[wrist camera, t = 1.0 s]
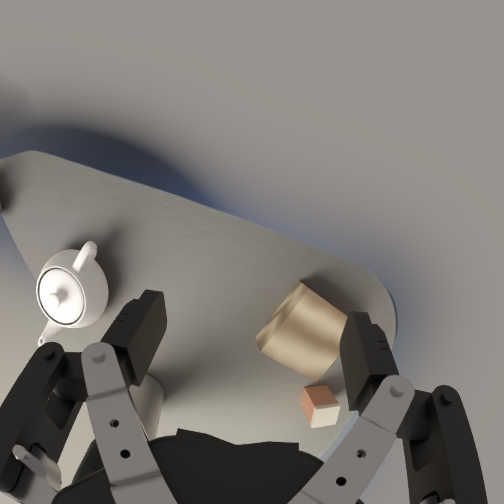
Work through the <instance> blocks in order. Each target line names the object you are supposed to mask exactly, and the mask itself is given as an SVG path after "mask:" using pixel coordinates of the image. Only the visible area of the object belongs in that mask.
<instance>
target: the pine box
mask: <svg viewBox="0 0 504 504" xmlns="http://www.w3.org/2000/svg"><path fill="white" fill-rule="evenodd" d="M347 317H348V316H347V315H346V314H344V313H343V312H341V311H340V310H339V309H337V308H336V307H335V306H333V305H332V304H330V303H329V302H328V301H326V300H325V299H324V298H322V297H321V296H319V295H318V294H317V293H315V292H314V291H313V290H311V289H310V288H308V287H307V286H306V285H304V284H303V283H302V282H300V281H298V282H297V284H296V285H295V286H294V288H293V289H292V290H291V292H290V293H289V294H288V296H287V297H286V298H285V300H284V301H283V302H282V304H281V305H280V306H279V308H278V309H277V310H276V312H275V313H274V314H273V315H272V317H271V318H270V319H269V321H268V322H267V323H266V324H265V326H264V327H263V328H262V330H261V331H260V332H259V333H258V335H257V336H256V337H255V338H256V340H257V343H258V346H259V349H260V351H261V352H262V353H264V354H266V355H267V356H269V357H271V358H273V359H275V360H276V361H278V362H280V363H282V364H283V365H285V366H287V367H289V368H291V369H293V370H294V371H296V372H298V373H300V374H302V375H304V376H306V377H307V378H309V379H311V380H313V381H315V382H317V381H318V380H319V378H320V377H321V376H322V375H323V374H324V373H325V371H326V370H327V369H328V368H329V367H330V366H331V364H332V363H333V362H334V361H335V360H336V358H337V357H338V356H339V355H340V350H339V345H340V338H341V335H342V332H343V329H344V326H345V323H346V320H347Z"/></svg>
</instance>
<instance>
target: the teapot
mask: <svg viewBox="0 0 504 504" xmlns="http://www.w3.org/2000/svg"><path fill="white" fill-rule="evenodd" d="M96 253H97V245H96V244H95V243H94V242H93V241H88V242H86V243H85V245H84V246H83V247H82V249H81V251H79V250H73V249H70V250H63V251H60V252H58V253H57V254H55V255H54V256H52V257H51V258H50V259H49V260H48V261H47V263H46V264H45V266H44V267H43V269H42V271H41V273H40V276H39V278H38V282H37V288H36V290H37V291H36V292H37V299H38V302H39V305H40V307H41V309H42V311H43V312H44V314H45V315H46V316H47V317H48V318H49V321H48V323H47V325H46V327H45V330H44V331H43V333H42V335H41V337H40V339H39V341H38V345H39V347H40V346H41V345H43V344H45V342H46V341H47V340H48V339H49V338H50V337H51V336H52V335H54V334H55V333H57V332H58V331H60V330H61V329H62V328H63V327H68V328H80V327H85V326H88V325H90V324H92V323H94V322H95V321H96V320H97V319H99V318H100V316H101V315H102V314H103V312H104V310H105V308H106V305H107V301H108V284H107V280H106V277H105V274H104V273H103V271H102V269H101V267H100V266H99V265H98V263H97V262H96V261H95V260H94V259H95V256H96ZM70 274H72V275H73V276H74V277H75V278H74V277H73V276H72V275H70ZM75 279H76V280H77V281H78V282H77V281H76V280H75ZM78 283H79V284H80V286H81V288H82V290H81V288H80V286H79V284H78ZM82 291H83V293H82ZM83 295H84V299H83Z"/></svg>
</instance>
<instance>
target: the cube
mask: <svg viewBox="0 0 504 504" xmlns="http://www.w3.org/2000/svg"><path fill="white" fill-rule="evenodd" d="M301 406H302V408H303V411H304V413H305V415H306V417H307V419H308V421H309V423H310V425H311V427H312V428H317V427H323V426H329V425H335V424H336V421H337V417H338V413H339V410H340V404H339V403H338V401H337V400H336V399H335V397H334V396H333V394H332V393H331V391H330V390H329V388H328V387H327V385H321V386H312V387H304V391H303V397H302V403H301Z"/></svg>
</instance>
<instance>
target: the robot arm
mask: <svg viewBox="0 0 504 504" xmlns="http://www.w3.org/2000/svg"><path fill="white" fill-rule="evenodd" d="M166 327H167V316H166V308H165V300H164V294H163V292H160V291H154V290H147V289H146V290H145V291H144V292H143V294H142V295H141V296H140V298H139V299H133V300H131V301H130V302H128V303H127V304H126V305H125V306H124V307H123V308H122V310H121V311H120V314H118V316H117V317H116V319H115V320H114V321H113V323H112V324H111V326H110V327H109V329H108V330H107V332H106V333H105V335H104V336H103V338H102V339H101V341H100V342H97V343H93V344H90V345H89V346H87V347H86V348H85V349H84V350H83V352H64V350H63V347H62V346H61V345H60V344H59V343H56V342H48V343H45V344H43V345H41V346H40V347H39V348H38V349H37V350H36V352H35V353H34V354H33V356H32V357H31V359H30V360H29V362H28V363H27V365H26V366H25V368H24V369H23V371H22V373H21V374H20V375H19V377H18V379H17V380H16V382H15V383H14V385H13V387H12V388H11V390H10V392H9V393H8V395H7V397H6V398H5V400H4V402H3V403H2V405H1V407H0V492H2V493H4V494H5V495H7V496H9V497H10V498H12V499H14V500H16V501H17V502H19V503H21V504H364V503H363V502H362V501H361V500H360V499H359V497H360V496H361V494H362V493H363V492H364V490H365V489H366V487H367V485H368V484H369V483H370V481H371V480H372V478H373V477H374V475H375V474H376V472H377V470H378V469H379V467H380V466H381V464H382V462H383V461H384V459H385V457H386V455H387V454H388V452H389V450H390V449H391V447H392V445H393V443H394V441H395V439H396V438H401V439H402V440H403V447H404V454H405V461H406V469H407V478H408V487H409V498H410V504H488V502H487V496H486V491H485V485H484V480H483V475H482V470H481V466H480V462H479V457H478V453H477V450H476V446H475V442H474V439H473V435H472V432H471V428H470V425H469V422H468V419H467V416H466V413H465V409H464V407H463V404H462V401H461V398H460V396H459V394H458V392H457V391H456V390H455V389H454V388H452V387H450V386H447V385H441V386H438V387H436V388H435V390H434V391H433V392H432V393H429V392H424V391H419V390H415V389H414V387H413V385H412V383H411V382H410V381H409V380H408V379H406V378H404V377H402V376H399V373H398V370H397V367H396V364H395V361H394V358H393V355H392V352H391V350H390V347H389V344H388V343H387V338H386V336H385V333H384V331H383V330H382V329H381V328H380V327H379V326H378V325H377V324H372V323H371V320H370V318H369V315H368V313H367V312H354V311H351V312H350V313H349V314H348V317H347V320H346V323H345V326H344V329H343V332H342V335H341V338H340V345H339V350H340V356H341V362H342V367H343V373H344V379H345V385H346V391H347V398H348V404H349V411H355V410H358V411H359V419H358V420H357V421H356V423H355V424H354V426H353V427H352V428H351V430H350V431H349V433H348V434H347V435H346V437H345V438H344V439H343V441H342V442H341V443H340V445H339V446H338V447H337V448H336V450H335V451H334V452H333V453H332V455H331V456H330V457H329V458H328V460H327V461H326V462H325V463H324V462H323V461H321V460H320V459H318V458H317V457H315V456H313V455H311V454H309V453H306V452H303V451H299V443H288V442H270V441H268V442H261V443H253V444H243V445H235V444H232V443H229V442H227V441H224V440H221V439H219V438H216V437H214V436H211V435H209V434H205V433H199V432H194V431H189V430H184V429H179V428H178V430H177V433H176V435H171V436H164V437H159V438H156V434H157V429H158V424H159V419H160V414H161V409H162V405H163V400H164V390H163V388H162V386H161V384H160V383H159V382H158V381H157V380H156V379H154V378H153V377H151V376H149V375H147V374H146V373H147V370H148V368H149V366H150V364H151V362H152V359H153V357H154V355H155V353H156V351H157V348H158V346H159V344H160V342H161V340H162V338H163V336H164V334H165V331H166ZM52 391H53V392H52ZM51 393H52V394H51ZM83 402H86V404H87V408H88V412H89V417H90V421H91V424H92V428H93V432H94V435H95V439H94V440H93V441H92V442H91V444H90V446H89V448H88V450H87V452H86V454H85V456H84V458H83V460H82V462H81V464H80V466H79V467H78V469H77V472H76V474H75V476H74V478H73V481H72V484H71V485H69V486H67V487H65V488H63V489H62V490H61V486H60V485H61V484H62V481H61V471H60V468H59V466H58V465H57V463H58V460H59V458H60V455H61V452H62V450H63V448H64V445H65V443H66V440H67V438H68V436H69V433H70V431H71V429H72V426H73V424H74V422H75V419H76V417H77V415H78V413H79V410H80V408H81V406H82V404H83Z"/></svg>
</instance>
